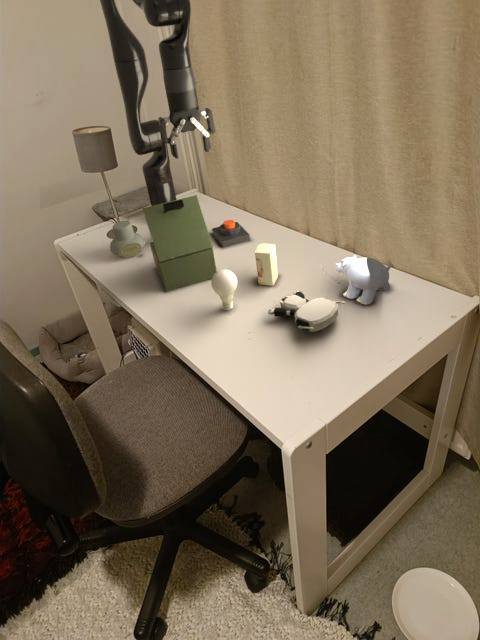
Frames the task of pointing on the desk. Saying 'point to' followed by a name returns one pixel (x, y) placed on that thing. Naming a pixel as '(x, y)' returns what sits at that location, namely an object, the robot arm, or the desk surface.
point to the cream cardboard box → (266, 264)
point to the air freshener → (126, 240)
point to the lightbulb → (225, 286)
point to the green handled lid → (177, 228)
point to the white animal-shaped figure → (364, 277)
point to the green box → (185, 268)
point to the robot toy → (307, 311)
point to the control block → (230, 235)
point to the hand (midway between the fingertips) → (191, 154)
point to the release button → (229, 224)
